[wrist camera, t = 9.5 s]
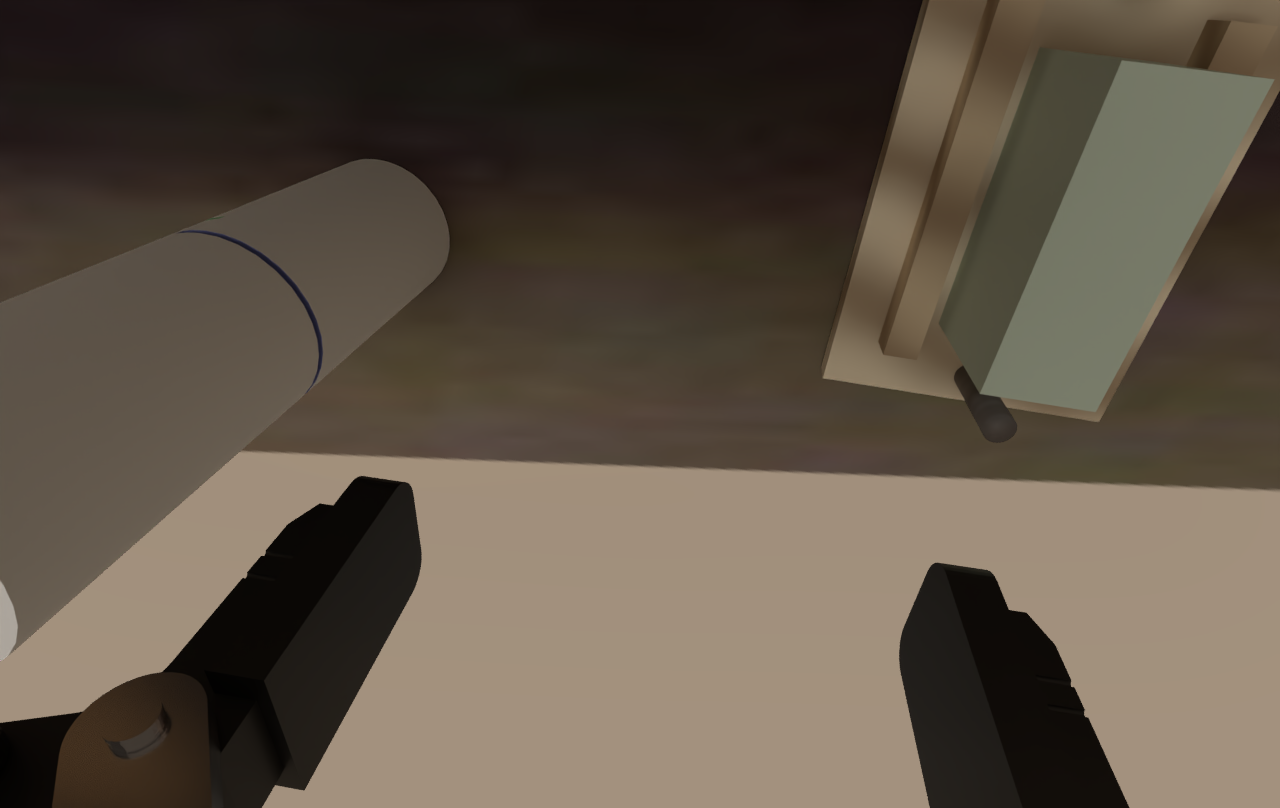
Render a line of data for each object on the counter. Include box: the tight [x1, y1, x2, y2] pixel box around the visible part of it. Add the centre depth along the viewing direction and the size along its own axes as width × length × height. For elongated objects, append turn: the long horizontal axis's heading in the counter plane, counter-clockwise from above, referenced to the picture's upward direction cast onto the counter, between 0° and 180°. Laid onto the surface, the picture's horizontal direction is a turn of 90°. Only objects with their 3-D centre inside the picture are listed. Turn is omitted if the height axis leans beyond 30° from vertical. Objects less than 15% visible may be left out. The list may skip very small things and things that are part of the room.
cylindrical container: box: [0, 159, 450, 661], centre depth 25 cm, size 7×7×25 cm
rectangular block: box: [939, 47, 1275, 412], centre depth 27 cm, size 12×6×7 cm, turn 174°
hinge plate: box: [821, 0, 1280, 443], centre depth 28 cm, size 20×14×6 cm
